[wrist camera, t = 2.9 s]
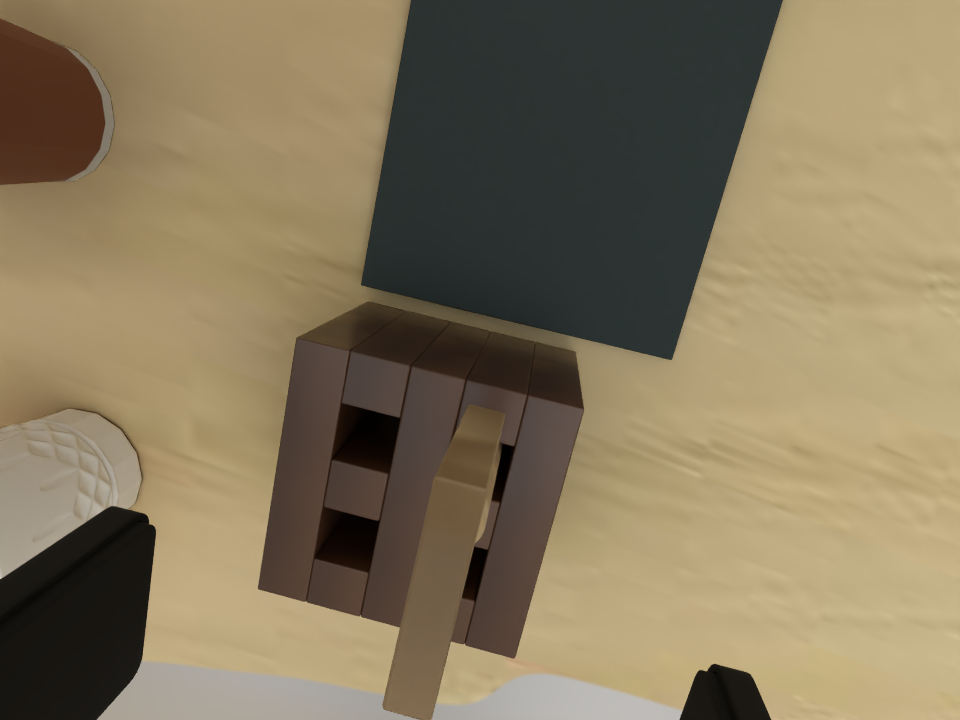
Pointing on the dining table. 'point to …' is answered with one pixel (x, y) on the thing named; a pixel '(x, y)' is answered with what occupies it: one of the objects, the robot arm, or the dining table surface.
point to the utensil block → (415, 465)
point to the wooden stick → (444, 562)
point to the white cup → (59, 480)
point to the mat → (564, 158)
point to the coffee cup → (49, 111)
